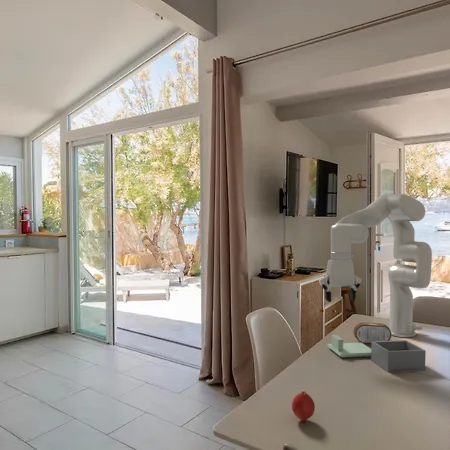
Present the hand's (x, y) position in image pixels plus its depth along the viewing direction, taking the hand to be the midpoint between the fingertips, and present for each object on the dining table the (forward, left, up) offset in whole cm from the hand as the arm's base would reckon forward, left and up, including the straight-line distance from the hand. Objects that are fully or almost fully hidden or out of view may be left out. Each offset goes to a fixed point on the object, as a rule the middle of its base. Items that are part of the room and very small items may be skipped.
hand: (340, 300), depth 151 cm
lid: (-5, 0, -21) cm, 21 cm away
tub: (-15, +14, -20) cm, 29 cm away
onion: (+32, +46, -21) cm, 60 cm away
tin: (-19, -10, -21) cm, 30 cm away
